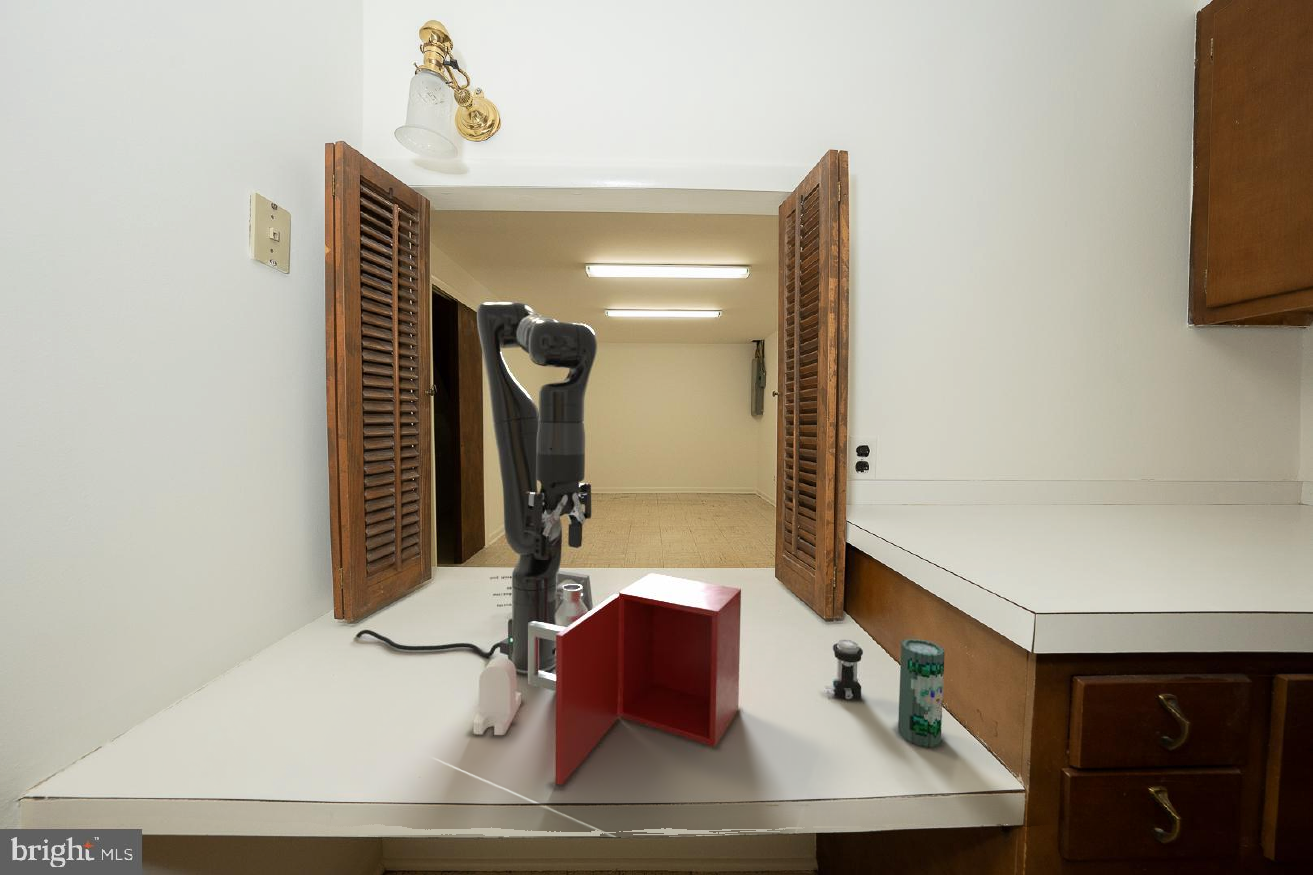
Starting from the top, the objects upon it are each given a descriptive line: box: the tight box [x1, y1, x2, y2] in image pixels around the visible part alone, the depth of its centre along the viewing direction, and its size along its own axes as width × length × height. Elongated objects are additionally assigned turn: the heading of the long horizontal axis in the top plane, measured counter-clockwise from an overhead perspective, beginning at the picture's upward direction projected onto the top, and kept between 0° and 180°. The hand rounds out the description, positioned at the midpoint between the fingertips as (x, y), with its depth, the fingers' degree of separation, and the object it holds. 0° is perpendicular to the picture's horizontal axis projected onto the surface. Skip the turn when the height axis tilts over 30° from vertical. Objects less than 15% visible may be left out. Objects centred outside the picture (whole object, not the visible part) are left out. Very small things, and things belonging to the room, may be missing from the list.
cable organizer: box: [473, 656, 522, 736], centre depth 91 cm, size 5×10×10 cm, turn 178°
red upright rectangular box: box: [618, 573, 742, 747], centre depth 93 cm, size 12×18×22 cm, turn 63°
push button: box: [824, 639, 864, 700], centre depth 100 cm, size 7×5×10 cm
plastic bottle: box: [554, 584, 589, 674], centre depth 100 cm, size 6×7×20 cm
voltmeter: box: [489, 570, 594, 612], centre depth 138 cm, size 27×11×10 cm, turn 103°
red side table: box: [527, 594, 619, 787], centre depth 84 cm, size 7×18×22 cm, turn 158°
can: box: [897, 638, 946, 748], centre depth 88 cm, size 6×6×15 cm
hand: (559, 552), depth 84 cm, fingers open, 8 cm apart
